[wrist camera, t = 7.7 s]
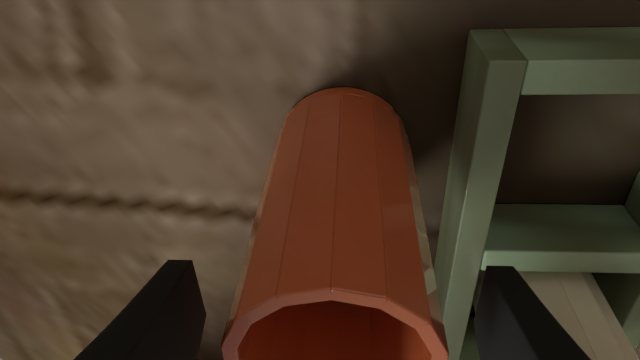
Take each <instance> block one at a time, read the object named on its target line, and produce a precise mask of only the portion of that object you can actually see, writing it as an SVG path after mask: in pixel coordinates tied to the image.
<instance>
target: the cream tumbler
mask: <svg viewBox="0 0 640 360" xmlns="http://www.w3.org/2000/svg"><path fill="white" fill-rule="evenodd" d="M485 271H486V270H481V269H480V270H479V275H478V279H477V284H476V288H475V292H474V297H473V301H472V302H473V306H474V310H475V313H476V309H477V305H478V300H479V296H480V292H481V288H482V283H483V279H484V275H485ZM518 272H519V274H520V275H521V276H522V277H523V279H524V280H525V281H526V283H527V284H528V285H529V286H530V288H531V289H532V290H533V291H534V293H535V294H536V295H537V297H538V298H539V299H540V300H541V302H542V303H543V304H544V305H545V306H546V308H547V309H548V310H549V311H550V313H551V314H552V315H553V316H554V317H555V319H556V320H557V321H558V322H559V323H560V325H561V326H562V327H563V328H564V329H565V330H566V332H567V333H568V334H569V335H570V336H571V337H572V338H573V340H574V341H575V342H576V343H577V344H578V345H579V347H580V348H581V349H582V350H583V351H584V352H585V353H586V354H587V355H588V357H589V358H590V359H591V360H640V359H639V358H638V356H637V354H636V352H635V350H634V349H633V347H632V345H631V343H630V341H629V340H628V338H627V336H626V334H625V333H624V331H623V329H622V327H621V325H620V324H619V322H618V320H617V318H616V316H615V315H614V313H613V311H612V309H611V307H610V306H609V304H608V302H607V300H606V298H605V297H604V295H603V293H602V291H601V289H600V288H599V286H598V284H597V282H596V280H595V279H594V277H593V275H592V273H590V272H540V271H518Z"/></svg>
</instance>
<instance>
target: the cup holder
mask: <svg viewBox="0 0 640 360" xmlns="http://www.w3.org/2000/svg"><path fill="white" fill-rule="evenodd" d="M520 94H521V95H601V94H640V27H593V28H526V29H503V30H501V29H471V30H469V34H468V41H467V48H466V54H465V61H464V68H463V75H462V81H461V88H460V95H459V102H458V108H457V115H456V122H455V129H454V135H453V142H452V149H451V156H450V162H449V169H448V176H447V183H446V189H445V196H444V203H443V210H442V216H441V223H440V230H439V237H438V244H437V250H436V257H435V264H434V275H435V280H436V286H437V291H438V296H439V302H440V307H441V313H442V318H443V323H444V329H445V334H446V339H447V345H448V350H449V358H448V360H480V357H479V351H478V346H477V340H476V333H475V327H474V317H469V314H470V310H471V306H472V301H473V297H474V292H475V288H476V284H477V279H478V275H479V270H480V269H481V270H486V266H513V267H514V268H515V269H516V270H517V271H540V272H590V273H595V274H594V279H595V280H596V282H597V284H598V286H599V288H600V289H601V291H602V293H603V295H604V297H605V298H606V300H607V302H608V304H609V306H610V307H611V309H612V311H613V313H614V315H615V316H616V318H617V320H618V322H619V324H620V325H621V327H622V329H623V331H624V333H625V334H626V336H627V338H628V340H629V341H630V343H631V345H632V347H633V349H634V350H635V351H636V349H637V347H638V345H639V344H640V170H639V172H638V174H637V177H636V179H635V181H634V184H633V186H632V188H631V191H630V193H629V195H628V198H627V200H626V202H625V205H624V206H623V205H563V204H495V200H496V196H497V191H498V187H499V183H500V178H501V174H502V169H503V165H504V161H505V156H506V152H507V147H508V143H509V139H510V134H511V130H512V125H513V121H514V117H515V112H516V108H517V104H518V99H519V95H520Z"/></svg>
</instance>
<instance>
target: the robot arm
mask: <svg viewBox="0 0 640 360" xmlns="http://www.w3.org/2000/svg"><path fill="white" fill-rule="evenodd" d="M205 318H206V311H205V307H204V304H203V300H202V296H201V292H200V288H199V285H198V281H197V277H196V273H195V269H194V266H193V262H192V260H168V261H167V262H166V263H165V264H164V265H163V266H162V267H161V268H160V269H159V270H158V271H157V273H156V274H155V275H154V276H153V277H152V278H151V279H150V280H149V282H148V283H147V284H146V285H145V286H144V287H143V288H142V289H141V290H140V292H139V293H138V294H137V295H136V296H135V297H134V298H133V299H132V300H131V301H130V303H129V304H128V305H127V306H126V307H125V308H124V309H123V310H122V311H121V312H120V313H119V314H118V315H117V316H116V318H115V319H114V320H113V321H112V322H111V323H110V324H109V325H108V326H107V327H106V328H105V329H104V330H103V331H102V332H101V333H100V334H99V335H98V336H97V337H96V338H95V339H94V340H93V341H92V342H91V343H90V344H89V345H88V346H87V347H86V348H85V349H84V350H83V351H82V352H81V353H80V354H79V355H78V356H77V357H76V358H75V359H74V360H196V358H197V355H198V351H199V347H200V342H201V338H202V333H203V328H204V323H205ZM474 327H475V333H476V340H477V346H478V351H479V357H480V360H591V359H590V358H589V357H588V355H587V354H586V353H585V352H584V351H583V350H582V349H581V348H580V347H579V345H578V344H577V343H576V342H575V341H574V340H573V338H572V337H571V336H570V335H569V334H568V333H567V332H566V330H565V329H564V328H563V327H562V326H561V325H560V323H559V322H558V321H557V320H556V319H555V317H554V316H553V315H552V314H551V313H550V311H549V310H548V309H547V308H546V306H545V305H544V304H543V303H542V302H541V300H540V299H539V298H538V297H537V295H536V294H535V293H534V291H533V290H532V289H531V288H530V286H529V285H528V284H527V283H526V281H525V280H524V279H523V277H522V276H521V275H520V274H519V272H518V271H517V270H516V269H515V268H514V267H513V266H486V271H485V275H484V279H483V283H482V288H481V292H480V296H479V300H478V305H477V309H476V313H475V317H474Z"/></svg>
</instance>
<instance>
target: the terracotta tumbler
mask: <svg viewBox="0 0 640 360" xmlns="http://www.w3.org/2000/svg"><path fill="white" fill-rule="evenodd" d="M221 350H222V354H223V358H224V360H448V358H449V350H448V345H447V339H446V334H445V329H444V323H443V318H442V313H441V307H440V302H439V296H438V291H437V286H436V280H435V275H434V270H433V264H432V259H431V253H430V248H429V243H428V237H427V232H426V227H425V221H424V216H423V211H422V205H421V200H420V194H419V189H418V184H417V178H416V173H415V168H414V162H413V157H412V152H411V146H410V141H409V139H408V137H407V133H406V130H405V126H404V124H403V122H402V120H401V118H400V116H399V115H398V113H397V112H396V111H395V110H394V109H393V108H392V106H391V105H389V104H388V103H387V102H386V101H385V100H383V99H381V98H380V97H378V96H376V95H374V94H372V93H370V92H367V91H364V90H361V89H356V88H348V87H338V88H330V89H324V90H321V91H318V92H315V93H313V94H311V95H309V96H307V97H306V98H304V99H302V100H301V101H300V102H299V103H297V104H296V105H295V106H294V107H293V108H292V109H291V110H290V112H289V113H288V115H287V116H286V118H285V119H284V122H283V124H282V126H281V130H280V133H279V135H278V138H277V140H276V143H275V146H274V150H273V154H272V157H271V161H270V165H269V169H268V172H267V176H266V180H265V183H264V187H263V191H262V194H261V198H260V202H259V206H258V209H257V213H256V217H255V220H254V224H253V228H252V231H251V235H250V239H249V242H248V246H247V250H246V254H245V257H244V261H243V265H242V268H241V272H240V276H239V279H238V283H237V287H236V290H235V294H234V298H233V302H232V305H231V309H230V313H229V316H228V320H227V324H226V327H225V331H224V335H223V339H222V342H221Z"/></svg>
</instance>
